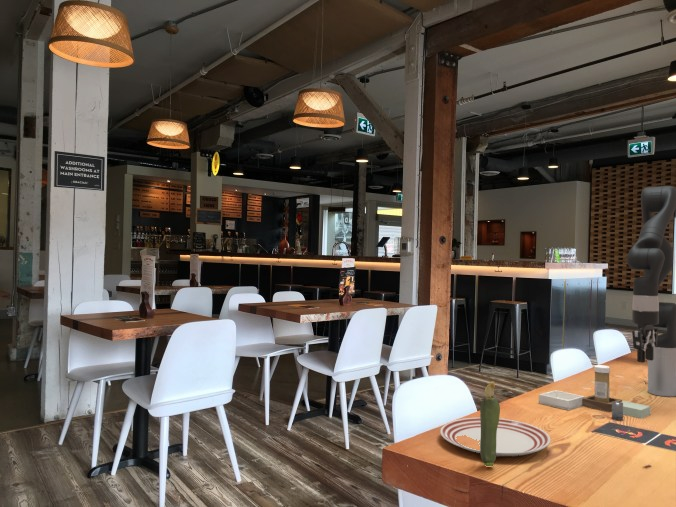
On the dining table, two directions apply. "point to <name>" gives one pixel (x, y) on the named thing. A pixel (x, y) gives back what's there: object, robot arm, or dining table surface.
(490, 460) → the vegetable
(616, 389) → the dining table surface
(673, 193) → the robot arm
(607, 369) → the sprinkles bottle
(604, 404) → the socket block
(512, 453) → the dinner plate
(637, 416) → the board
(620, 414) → the cylinder
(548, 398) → the tray
